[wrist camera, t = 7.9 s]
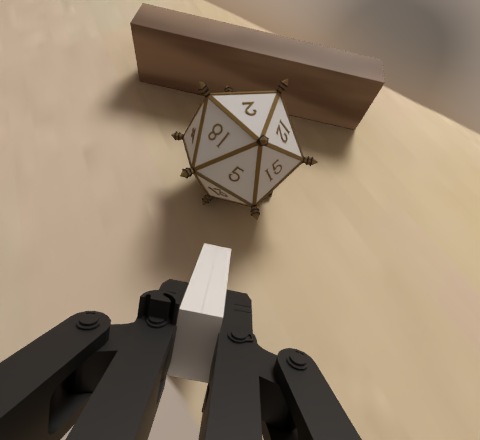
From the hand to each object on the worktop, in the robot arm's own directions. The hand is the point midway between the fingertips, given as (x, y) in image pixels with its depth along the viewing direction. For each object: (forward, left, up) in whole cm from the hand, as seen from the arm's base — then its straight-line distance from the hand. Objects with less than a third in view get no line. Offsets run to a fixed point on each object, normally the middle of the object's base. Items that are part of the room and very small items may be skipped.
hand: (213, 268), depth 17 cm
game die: (-8, 0, -3) cm, 9 cm away
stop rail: (-19, 0, -3) cm, 19 cm away
